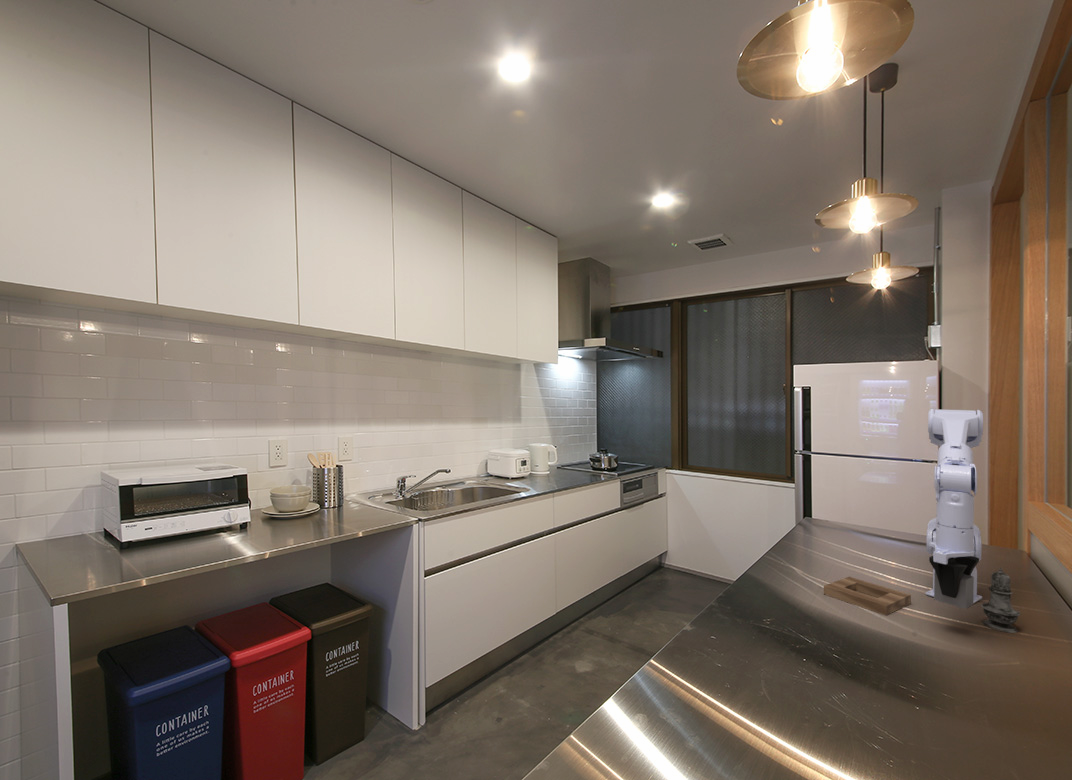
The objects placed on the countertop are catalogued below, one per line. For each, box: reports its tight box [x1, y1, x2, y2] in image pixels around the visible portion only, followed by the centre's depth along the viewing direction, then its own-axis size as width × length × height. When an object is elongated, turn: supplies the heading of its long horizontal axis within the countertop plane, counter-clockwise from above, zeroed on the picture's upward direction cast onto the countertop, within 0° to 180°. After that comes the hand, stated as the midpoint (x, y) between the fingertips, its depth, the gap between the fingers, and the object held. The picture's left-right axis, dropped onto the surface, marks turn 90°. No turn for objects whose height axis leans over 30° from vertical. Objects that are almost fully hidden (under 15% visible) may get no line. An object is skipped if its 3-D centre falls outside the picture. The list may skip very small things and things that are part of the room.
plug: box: [933, 572, 974, 610], centre depth 99 cm, size 4×5×6 cm
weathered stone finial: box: [980, 567, 1021, 634], centre depth 102 cm, size 6×6×12 cm
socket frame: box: [823, 576, 912, 616], centre depth 115 cm, size 12×13×2 cm
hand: (953, 593), depth 99 cm, fingers closed on plug, 4 cm apart
